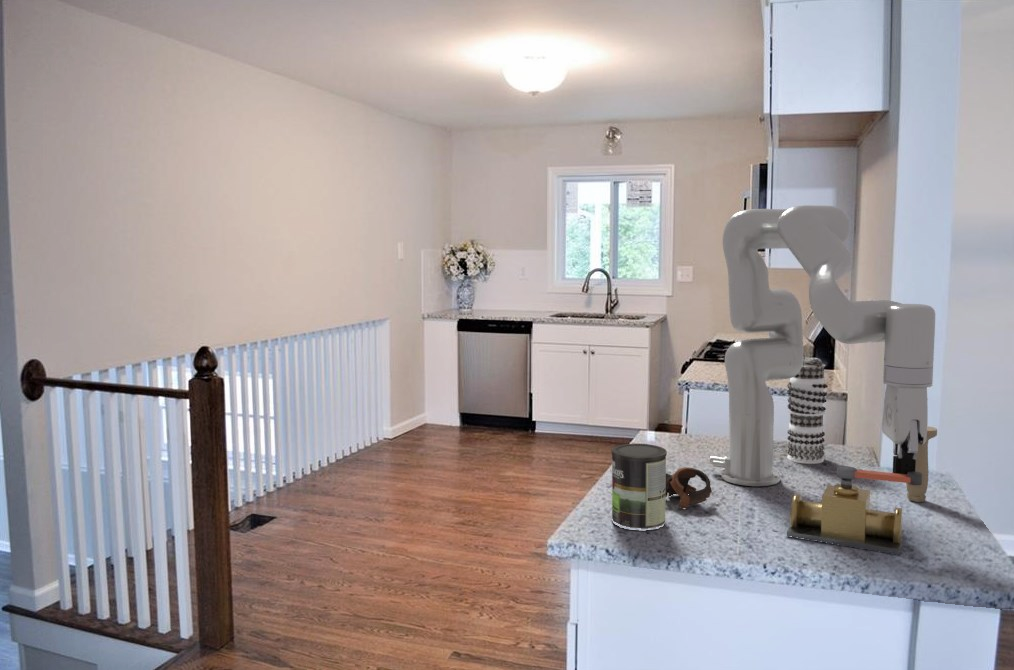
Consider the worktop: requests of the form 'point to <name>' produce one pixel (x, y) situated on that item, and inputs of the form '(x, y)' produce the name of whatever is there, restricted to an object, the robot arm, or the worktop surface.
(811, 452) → the white patterned cylinder
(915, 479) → the lever
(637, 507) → the coffee can
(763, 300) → the robot arm
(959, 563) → the worktop surface
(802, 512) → the valve
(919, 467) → the handle
